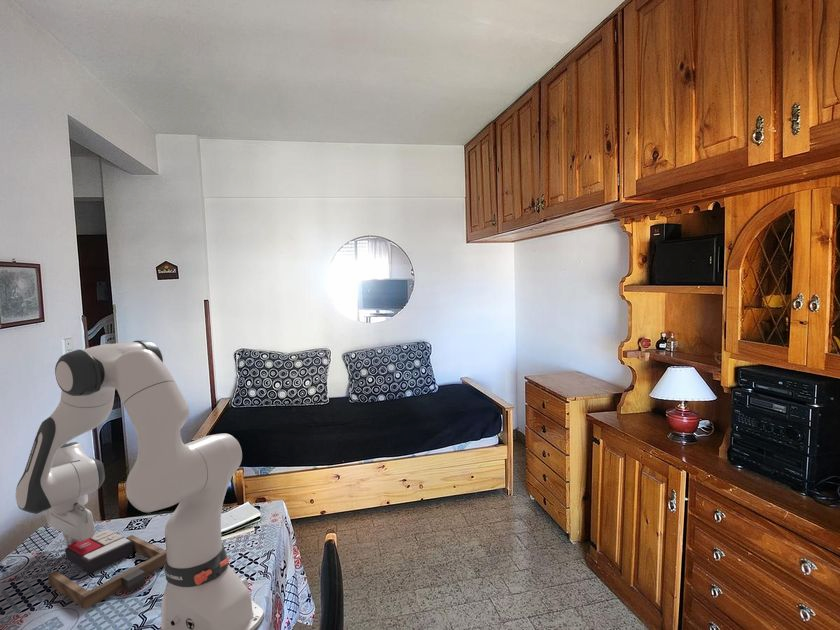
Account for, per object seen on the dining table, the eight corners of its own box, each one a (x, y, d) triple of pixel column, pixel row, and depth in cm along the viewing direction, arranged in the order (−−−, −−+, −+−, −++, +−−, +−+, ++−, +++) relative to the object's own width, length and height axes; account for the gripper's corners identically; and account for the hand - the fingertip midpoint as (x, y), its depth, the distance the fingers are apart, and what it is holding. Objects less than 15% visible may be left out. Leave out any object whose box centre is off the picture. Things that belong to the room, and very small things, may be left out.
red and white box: (108, 527, 135) (132, 538, 127) (109, 541, 135) (134, 553, 127) (64, 545, 126) (87, 559, 118) (65, 560, 126) (89, 575, 118)
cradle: (176, 565, 121) (175, 554, 121) (92, 613, 104) (90, 601, 103) (132, 544, 132) (131, 534, 131) (49, 585, 114) (48, 573, 114)
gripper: (99, 502, 125) (103, 550, 126) (64, 488, 136) (68, 533, 137) (73, 513, 120) (77, 563, 121) (39, 497, 130) (43, 543, 131)
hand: (72, 547), depth 129 cm, fingers closed
